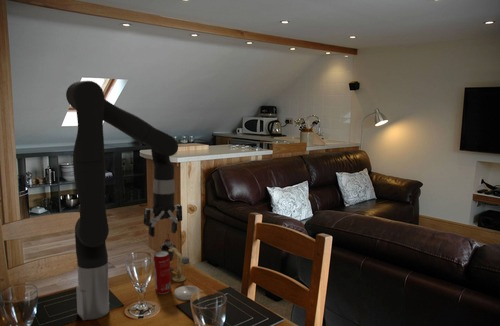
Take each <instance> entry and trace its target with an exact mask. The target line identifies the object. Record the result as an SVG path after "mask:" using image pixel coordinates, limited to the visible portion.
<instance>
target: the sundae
mask: <svg viewBox="0 0 500 326" xmlns="http://www.w3.org/2000/svg"><path fill="white" fill-rule="evenodd" d="M167 236H170V235H169V233H168V234H167ZM174 247H175V248H176V247H177V246H176V244H173V242H171V239H170V238H166V239H165V240H164V241H163V242H162V245H160V246H159V249H160V251H167V252H168V253H169V256H170V262H171V261H172V260H173V259H174V254H175V253H174V252H170V251H169V249H170V248H174ZM174 269H175V268H173V267H171V266H170V273H171V272H173V271H174Z"/></svg>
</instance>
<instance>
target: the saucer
mask: <svg viewBox="0 0 500 326" xmlns="http://www.w3.org/2000/svg"><path fill="white" fill-rule="evenodd" d="M197 292H199V293H200V289H199V287H197V286H194V285H182V286H179V287H177V288H176V289H175V290H174V297H175V298H176V299H177V300H181V301H191V300H190V298H191V296H192V294H194V293H197Z"/></svg>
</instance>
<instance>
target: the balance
mask: <svg viewBox="0 0 500 326" xmlns="http://www.w3.org/2000/svg"><path fill="white" fill-rule="evenodd" d="M169 251H170V252H174V253H173V254H175V255H176V256H177V260H176V261H177V262H176V263H177V266H176V267H177V269H176V271H177V273H176V274H177V275H174V276H173V277H172V281H173V282H174V283H183V282H185V281H186V279H187V277H186V275H182V266H183V267H187V266H188V267H189V266H190V265H191V262H190V258H189V257H187V256H183V255H182V254H181V253H180V251H179V250H178V248H175V247H174V248H170V249H169Z"/></svg>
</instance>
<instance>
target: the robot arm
mask: <svg viewBox="0 0 500 326" xmlns="http://www.w3.org/2000/svg"><path fill="white" fill-rule="evenodd" d="M103 90H104V89H103V88H102V87H101V85H99V84H98V83H97V82H95V81H92V80H81V81H76V82H73V83H71V84H70V85H69V86H68V88H67V89H66V93H65V97H66V100H67V102H68V104H69V105H70V107H72V108H73V109H74V110H75V112H76V117H77V118H76V119H77V133H76V138H75V141H74V145H73V146H74V147H73V153H72V169H73V177H74V184H75V189H76V192H77V197H78V201H79V218H78V219H77V221H76V223H75V226H74V239H75V240H74V242H75V255H76V262H77V283H78V285H76V289H75V290H76V313H77V315H78V316H79V317H80V318H81V320H82V321H86V320H96V319H100V318H103V317H105V316H106V315H108V313H109V312H110V295H109V293H110V290H109V288H110V287H109V256H108V250H107V244H106V240H107V239H108V236H109V233H110V230H109V229H110V228H109V222H108V217H107V209H106V208H107V207H106V155H105V140H104V122H105V123H107V124H108V125H110V126H111V127H114V128H115V129H116V130H119V131H120V132H122V133H124V134H125V135H127V136H129V137H130V138H132V139H133V140H135V141H136V142H139V143H140V144H143V145H145V146H149V147H150V149H151V150H150V152H151V157H152V163H153V166H154V168H153V169H154V170H153V171H154V172H153V184H152V192H153V193H152V195H153V196H152V200H153V201H152V204H153V206H152V208H147V207H145V208H144V213H143V225H145V226H146V227H148V235H149V236H150V237H151V238H154V237H155V232H156V230H155V229H156V227H155V226H156V225H157V223H158V222H159V220H164V219H167V220H169V219H170V220H171V221H172V222H171V226H170V227H171V233H172V234H176V233H177V231H178V223H179V222H182V221H183V207H182V205H180V204H175V187H176V186H175V165H174V163H173V162H171V159H170V157H172V156H174V155H176V154H177V152H178V150H179V143H178V141H177V140H176V139H175V137H173V136H171V135H170V134H168V133H166V132H164V131H162V130H160V129H157V128H155V127H154V126H152V125H151V124H150V123H148V122H147V121H145V120H143V119H142V118H140V117H139V116H137V115H135V114H134V113H131V112H128V111H126V110H124V109H123V108H121V107H118V106H116V105H115V104H114V103H111V102H110V101H108V100H107V99H105V93H104V91H103ZM174 211H175V215H176V216H175V215H174ZM152 214H153V215H152Z"/></svg>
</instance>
